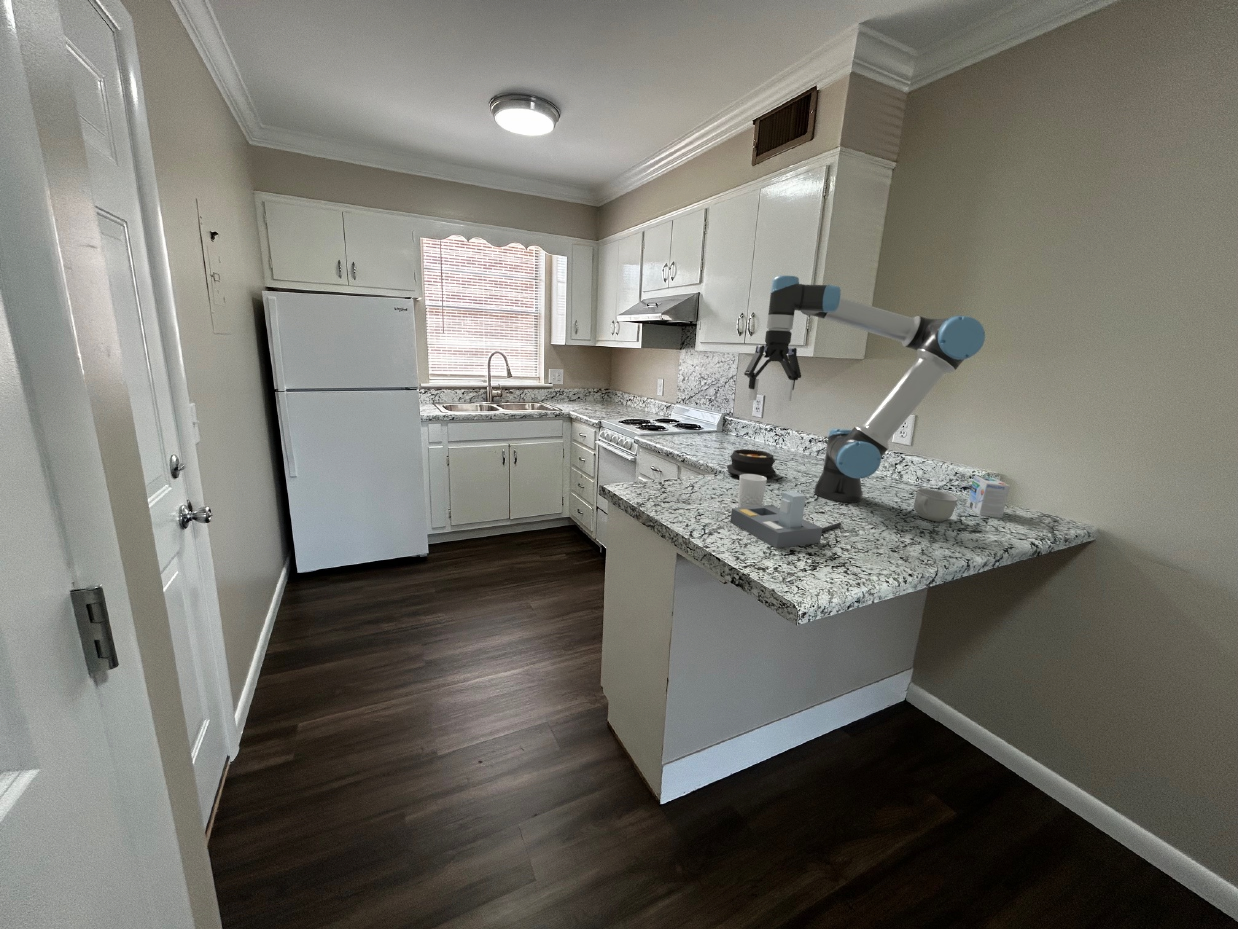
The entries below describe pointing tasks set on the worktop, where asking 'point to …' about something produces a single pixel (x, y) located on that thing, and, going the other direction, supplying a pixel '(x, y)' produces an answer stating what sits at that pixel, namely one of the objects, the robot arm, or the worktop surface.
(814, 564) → the worktop surface
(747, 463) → the casserole
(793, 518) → the plug
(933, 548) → the worktop surface
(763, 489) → the white cup
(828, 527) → the patch cord
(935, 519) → the teacup
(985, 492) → the light bulb box
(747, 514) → the panel
